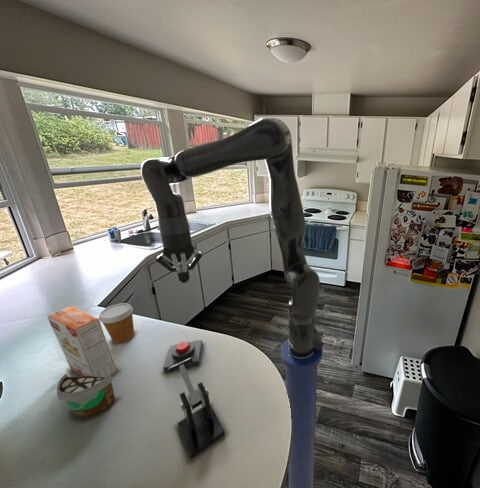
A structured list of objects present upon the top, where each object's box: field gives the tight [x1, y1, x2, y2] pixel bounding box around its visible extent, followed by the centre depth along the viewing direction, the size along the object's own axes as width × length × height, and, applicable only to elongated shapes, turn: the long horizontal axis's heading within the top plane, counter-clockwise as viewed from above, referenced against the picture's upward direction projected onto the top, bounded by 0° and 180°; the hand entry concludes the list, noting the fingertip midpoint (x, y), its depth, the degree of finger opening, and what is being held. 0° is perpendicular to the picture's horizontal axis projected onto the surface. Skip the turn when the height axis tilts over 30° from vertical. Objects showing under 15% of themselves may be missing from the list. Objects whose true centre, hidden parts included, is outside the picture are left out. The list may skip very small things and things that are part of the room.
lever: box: [168, 357, 202, 411], centre depth 62 cm, size 12×6×2 cm, turn 44°
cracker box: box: [47, 305, 118, 377], centre depth 75 cm, size 14×6×21 cm, turn 67°
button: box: [176, 341, 189, 353], centre depth 83 cm, size 4×4×2 cm
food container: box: [56, 373, 116, 420], centre depth 65 cm, size 12×6×10 cm, turn 92°
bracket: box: [177, 381, 226, 460], centre depth 61 cm, size 10×8×13 cm
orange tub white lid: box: [98, 302, 135, 344], centre depth 91 cm, size 10×10×12 cm
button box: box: [163, 339, 204, 374], centre depth 84 cm, size 10×10×4 cm
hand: (185, 281), depth 79 cm, fingers closed
